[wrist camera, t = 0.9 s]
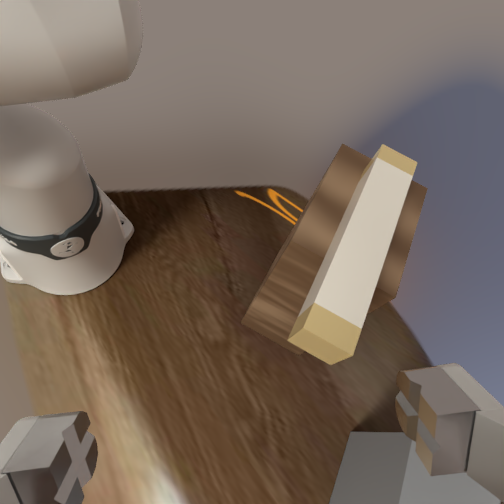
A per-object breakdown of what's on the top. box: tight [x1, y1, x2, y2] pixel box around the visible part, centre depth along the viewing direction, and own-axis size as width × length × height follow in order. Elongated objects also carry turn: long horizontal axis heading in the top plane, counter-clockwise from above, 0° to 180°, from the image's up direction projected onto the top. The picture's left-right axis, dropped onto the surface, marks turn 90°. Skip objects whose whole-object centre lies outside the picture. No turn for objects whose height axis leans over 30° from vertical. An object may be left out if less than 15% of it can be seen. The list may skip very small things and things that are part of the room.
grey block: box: [329, 432, 501, 504], centre depth 39 cm, size 10×10×14 cm
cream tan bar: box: [287, 145, 417, 365], centre depth 28 cm, size 20×4×4 cm, turn 153°
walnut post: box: [241, 144, 427, 355], centre depth 44 cm, size 14×10×26 cm
